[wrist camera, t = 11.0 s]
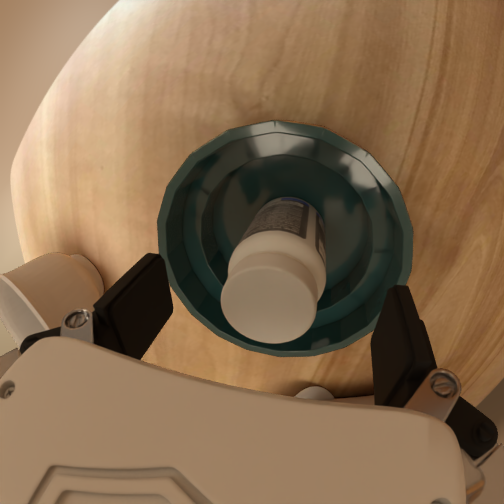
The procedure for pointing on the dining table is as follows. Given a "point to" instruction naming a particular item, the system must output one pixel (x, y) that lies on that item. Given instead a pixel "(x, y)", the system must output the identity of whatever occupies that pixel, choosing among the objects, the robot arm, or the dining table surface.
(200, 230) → the bowl
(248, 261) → the pill bottle
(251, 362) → the dining table surface
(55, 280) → the teacup
